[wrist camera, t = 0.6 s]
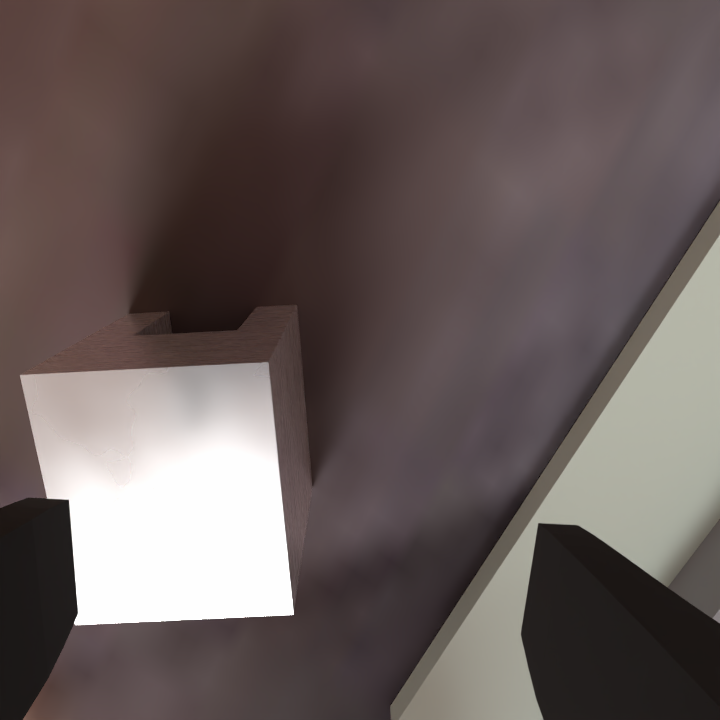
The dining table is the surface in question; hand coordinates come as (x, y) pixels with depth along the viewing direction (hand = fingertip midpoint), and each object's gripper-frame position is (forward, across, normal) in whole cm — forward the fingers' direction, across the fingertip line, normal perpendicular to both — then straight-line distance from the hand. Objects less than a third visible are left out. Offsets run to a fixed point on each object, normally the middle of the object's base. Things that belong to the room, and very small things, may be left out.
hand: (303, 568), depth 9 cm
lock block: (+10, +3, +1) cm, 10 cm away
